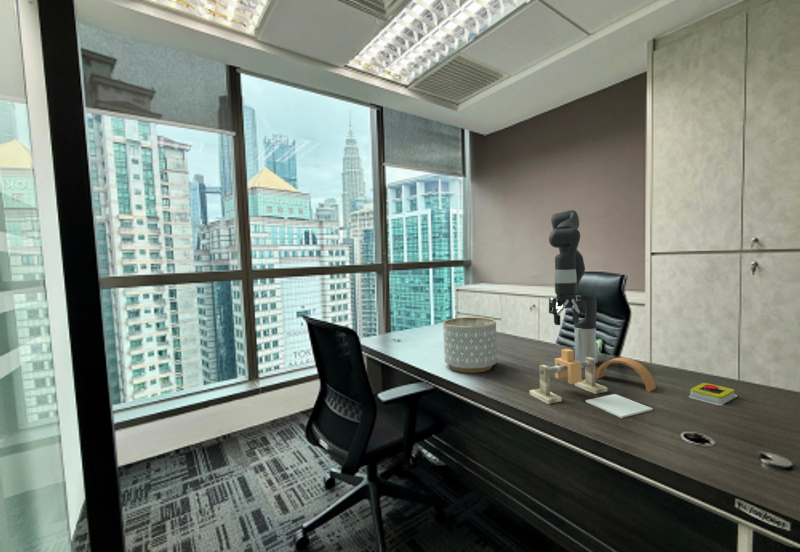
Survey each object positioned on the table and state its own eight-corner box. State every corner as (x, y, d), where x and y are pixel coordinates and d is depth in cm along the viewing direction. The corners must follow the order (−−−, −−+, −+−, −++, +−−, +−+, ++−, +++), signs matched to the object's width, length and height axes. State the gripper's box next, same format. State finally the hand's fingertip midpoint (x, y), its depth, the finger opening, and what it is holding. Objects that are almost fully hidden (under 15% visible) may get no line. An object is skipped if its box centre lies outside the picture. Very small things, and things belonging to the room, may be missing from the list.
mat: (614, 395, 130) (614, 393, 130) (652, 410, 116) (652, 408, 116) (585, 401, 125) (585, 400, 125) (621, 418, 112) (621, 416, 112)
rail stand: (586, 383, 143) (585, 354, 143) (607, 391, 134) (606, 360, 133) (529, 394, 135) (528, 363, 134) (548, 404, 125) (547, 371, 124)
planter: (435, 364, 178) (433, 321, 177) (474, 356, 190) (472, 315, 189) (466, 378, 156) (464, 329, 155) (508, 368, 167) (507, 322, 166)
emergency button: (687, 386, 125) (705, 377, 133) (687, 398, 125) (705, 389, 133) (720, 394, 117) (738, 385, 124) (720, 407, 117) (738, 397, 125)
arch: (648, 392, 131) (648, 366, 131) (595, 378, 148) (594, 355, 148) (655, 389, 134) (655, 363, 134) (602, 375, 151) (602, 353, 151)
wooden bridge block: (565, 375, 139) (564, 346, 138) (581, 381, 131) (580, 351, 130) (555, 377, 137) (554, 348, 136) (571, 383, 129) (570, 353, 129)
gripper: (572, 279, 138) (573, 320, 139) (543, 282, 134) (544, 324, 134) (588, 280, 131) (589, 323, 132) (557, 283, 127) (558, 327, 127)
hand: (566, 323), depth 133 cm, fingers open, 8 cm apart
